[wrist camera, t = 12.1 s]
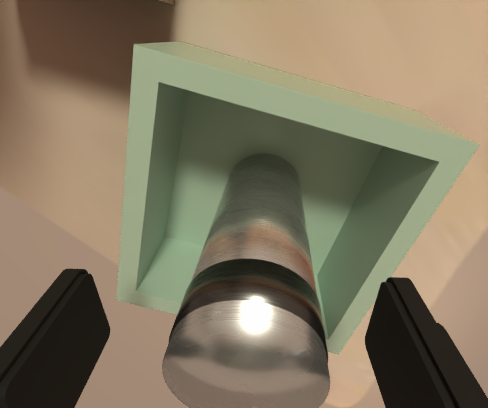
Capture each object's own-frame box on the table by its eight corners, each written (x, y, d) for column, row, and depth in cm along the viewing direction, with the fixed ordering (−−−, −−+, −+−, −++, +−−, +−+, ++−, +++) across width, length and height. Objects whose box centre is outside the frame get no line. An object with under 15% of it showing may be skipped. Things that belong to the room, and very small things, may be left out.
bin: (153, 237, 22) (116, 300, 17) (179, 41, 16) (133, 44, 11) (323, 281, 23) (338, 354, 18) (414, 109, 16) (480, 144, 11)
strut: (225, 151, 18) (148, 314, 7) (303, 153, 17) (344, 329, 7) (227, 218, 20) (171, 419, 9) (297, 221, 19) (321, 435, 9)
